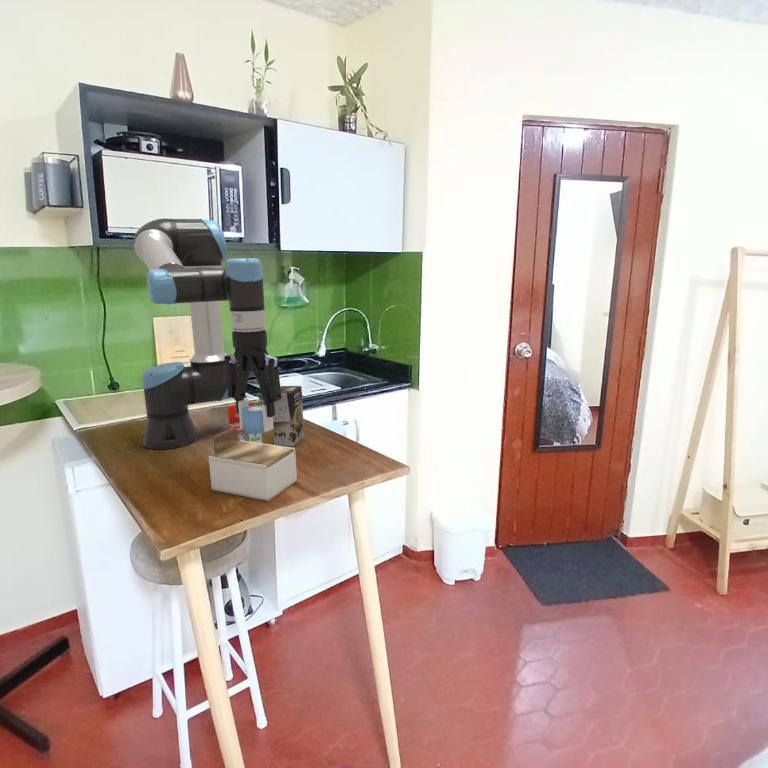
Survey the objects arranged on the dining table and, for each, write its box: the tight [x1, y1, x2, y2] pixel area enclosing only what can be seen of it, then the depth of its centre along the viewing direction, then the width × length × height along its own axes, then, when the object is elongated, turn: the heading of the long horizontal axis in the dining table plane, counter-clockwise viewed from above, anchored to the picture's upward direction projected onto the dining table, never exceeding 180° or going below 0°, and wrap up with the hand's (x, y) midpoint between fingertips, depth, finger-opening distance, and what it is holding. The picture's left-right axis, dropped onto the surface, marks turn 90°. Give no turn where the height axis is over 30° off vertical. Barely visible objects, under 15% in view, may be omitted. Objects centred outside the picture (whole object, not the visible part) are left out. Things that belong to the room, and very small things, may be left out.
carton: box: [208, 440, 298, 502], centre depth 124 cm, size 16×12×8 cm
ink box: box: [227, 402, 263, 443], centre depth 142 cm, size 4×8×15 cm, turn 125°
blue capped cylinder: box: [242, 405, 266, 434], centre depth 120 cm, size 6×6×5 cm
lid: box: [209, 428, 292, 467], centre depth 123 cm, size 16×10×5 cm, turn 67°
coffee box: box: [272, 385, 305, 447], centre depth 154 cm, size 9×6×16 cm
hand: (256, 428), depth 120 cm, fingers closed on blue capped cylinder, 6 cm apart
